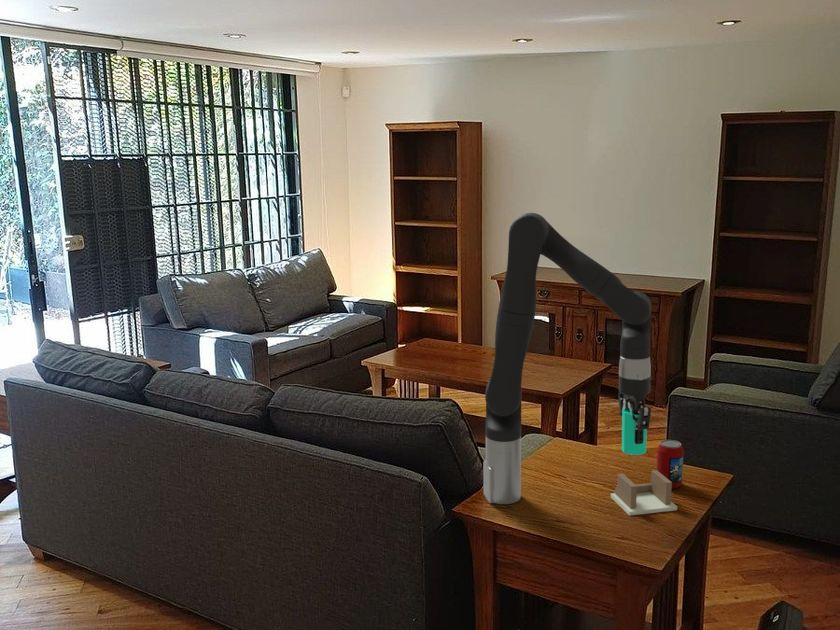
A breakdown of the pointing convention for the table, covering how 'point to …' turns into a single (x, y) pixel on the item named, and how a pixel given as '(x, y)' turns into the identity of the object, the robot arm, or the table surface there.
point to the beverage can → (671, 461)
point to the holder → (644, 495)
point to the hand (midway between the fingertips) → (633, 438)
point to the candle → (631, 435)
